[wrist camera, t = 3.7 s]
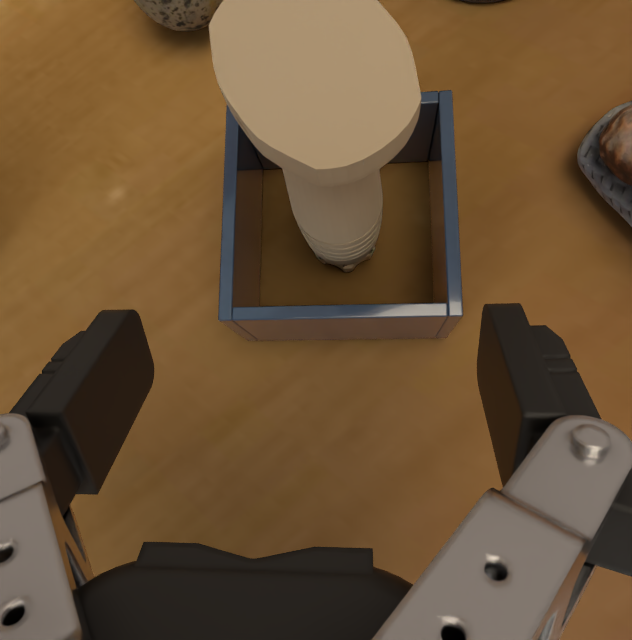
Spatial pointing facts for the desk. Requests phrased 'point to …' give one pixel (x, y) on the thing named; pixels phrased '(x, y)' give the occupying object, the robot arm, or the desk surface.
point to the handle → (321, 107)
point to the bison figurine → (610, 158)
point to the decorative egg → (180, 12)
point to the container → (482, 1)
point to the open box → (340, 320)
